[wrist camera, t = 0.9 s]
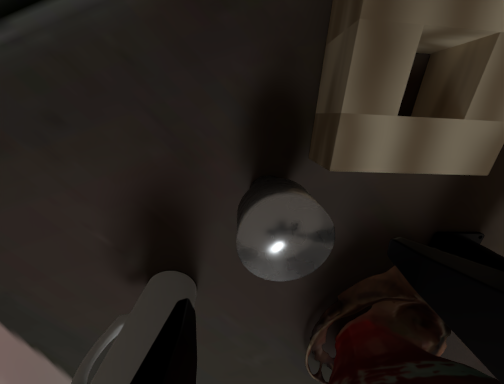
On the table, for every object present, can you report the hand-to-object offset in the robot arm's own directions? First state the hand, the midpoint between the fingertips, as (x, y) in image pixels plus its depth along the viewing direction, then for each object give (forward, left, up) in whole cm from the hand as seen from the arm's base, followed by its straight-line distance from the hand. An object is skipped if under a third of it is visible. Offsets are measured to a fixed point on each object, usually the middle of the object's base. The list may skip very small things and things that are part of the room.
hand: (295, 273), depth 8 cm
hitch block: (-12, -9, -13) cm, 20 cm away
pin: (-1, +2, -13) cm, 13 cm away
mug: (+12, +16, -14) cm, 24 cm away
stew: (-18, +25, -14) cm, 34 cm away
